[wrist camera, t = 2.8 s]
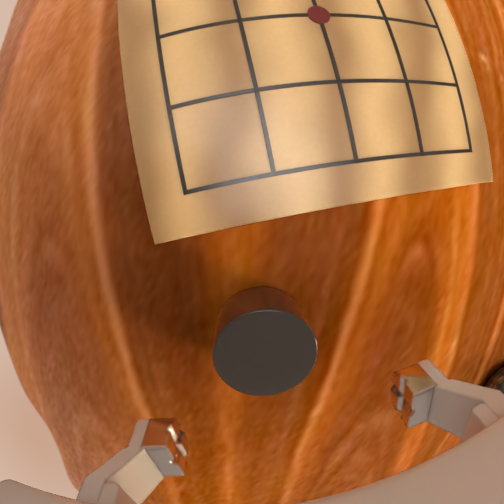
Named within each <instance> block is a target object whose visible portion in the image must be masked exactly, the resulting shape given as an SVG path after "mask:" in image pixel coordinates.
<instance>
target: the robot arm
mask: <svg viewBox="0 0 504 504" xmlns="http://www.w3.org/2000/svg"><path fill="white" fill-rule="evenodd" d="M392 381H393V383H394V385H393V387H392V388H391V400H392V403H393V406H394V407H395V409H396V410H397V411H400V412H402V413H401V419H402V420H403V422H404V423H405V425H406V426H407V428H410V427H413V426H415V425H418V424H420V423H423V422H425V421H427V422H429V423H431V424H433V425H435V426H437V427H439V428H441V429H443V430H445V431H448V432H450V433H452V434H454V435H456V436H458V437H460V438H461V441H460V443H459V444H458V445H456V446H454V447H452V448H451V449H449V450H447V451H445V452H443V453H441V454H439V455H437V456H435V457H433V458H431V459H429V460H427V461H425V462H423V463H420V464H418V465H416V466H414V467H411V468H409V469H407V470H404V471H402V472H400V473H397V474H395V475H392V476H390V477H387V478H384V479H382V480H379V481H376V482H373V483H370V484H367V485H364V486H361V487H358V488H355V489H352V490H348V491H345V492H342V493H338V494H334V495H330V496H327V497H323V498H318V499H314V500H309V501H305V502H300V503H295V504H504V394H503V393H502V392H501V391H500V390H496V389H491V388H487V387H483V386H479V385H475V384H471V383H467V382H463V381H459V380H455V379H450V380H448V379H447V377H446V376H445V375H444V374H443V373H442V372H441V371H440V370H439V369H438V368H437V367H436V366H435V365H434V364H433V363H432V362H431V361H430V360H429V359H425V360H422V361H420V362H418V363H416V364H413V365H410V366H408V367H405V368H403V369H400V370H397V371H395V372H393V374H392ZM188 449H189V448H188V440H187V437H186V435H185V433H184V432H183V431H181V430H180V423H179V421H178V420H177V419H176V418H158V419H139V420H138V421H137V423H136V425H135V428H134V431H133V434H132V437H131V439H130V442H129V445H128V448H123V449H122V450H121V451H120V452H118V453H117V454H116V455H114V456H113V457H112V458H111V459H109V460H108V461H107V462H105V463H104V464H103V465H101V466H100V467H99V468H97V469H96V470H95V471H93V472H92V473H91V474H89V475H88V476H87V477H85V479H84V481H83V484H82V486H81V489H80V491H79V494H78V496H77V499H76V500H75V499H71V498H66V497H63V496H59V495H56V494H52V493H48V492H45V491H42V490H39V489H36V488H32V487H30V486H27V485H24V484H22V483H19V482H16V481H13V480H4V481H1V482H0V504H142V502H143V501H144V500H145V499H146V498H147V497H148V496H149V494H150V493H151V492H152V491H153V490H154V489H155V487H156V486H157V485H158V484H159V483H160V482H161V480H162V479H163V478H164V476H185V471H186V464H187V462H186V461H185V459H184V457H185V456H186V455H187V454H188Z"/></svg>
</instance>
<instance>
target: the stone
mask: <svg viewBox="0 0 504 504" xmlns="http://www.w3.org/2000/svg"><path fill="white" fill-rule="evenodd" d="M485 387H487V388H491V389H496V390H500V391H501V392H502V393H503V394H504V368H500V369H499V370H498V371H497V372H496V373H495V374H494V375H493V376H492V377H491V378H490V380H489V381H488V382H487V384H486V385H485Z"/></svg>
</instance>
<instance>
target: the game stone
mask: <svg viewBox="0 0 504 504" xmlns="http://www.w3.org/2000/svg"><path fill="white" fill-rule="evenodd" d="M317 352H318V344H317V339H316V336H315V334H314V332H313V330H312V328H311V326H310V324H309V322H308V320H307V318H306V316H305V314H304V312H303V311H302V309H301V307H300V305H299V304H298V303H297V301H296V300H295V299H294V298H293V297H292V296H290V295H289V294H287V293H286V292H284V291H282V290H279V289H276V288H272V287H254V288H249V289H246V290H243V291H241V292H239V293H237V294H235V295H234V296H232V297H231V298H230V299H229V300H228V301H227V302H226V303H225V304H224V305H223V306H222V308H221V310H220V311H219V313H218V316H217V319H216V325H215V335H214V345H213V362H214V366H215V369H216V371H217V373H218V374H219V376H220V377H221V378H222V380H223V381H224V382H225V383H226V384H228V385H229V386H230V387H232V388H233V389H235V390H237V391H239V392H242V393H245V394H249V395H255V396H269V395H275V394H279V393H282V392H285V391H287V390H289V389H291V388H293V387H295V386H296V385H298V384H299V383H300V382H302V381H303V380H304V379H305V378H306V377H307V375H308V374H309V373H310V371H311V370H312V368H313V366H314V364H315V362H316V358H317Z"/></svg>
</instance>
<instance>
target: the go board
mask: <svg viewBox="0 0 504 504" xmlns="http://www.w3.org/2000/svg"><path fill="white" fill-rule="evenodd" d="M117 16H118V32H119V45H120V56H121V66H122V75H123V84H124V91H125V99H126V106H127V113H128V119H129V126H130V132H131V138H132V143H133V149H134V154H135V160H136V165H137V170H138V175H139V180H140V185H141V189H142V194H143V199H144V203H145V207H146V212H147V216H148V220H149V224H150V228H151V232H152V236H153V240H154V244H160V243H164V242H169V241H173V240H177V239H182V238H186V237H191V236H196V235H200V234H205V233H209V232H214V231H219V230H223V229H228V228H233V227H238V226H242V225H247V224H252V223H257V222H262V221H267V220H272V219H277V218H282V217H287V216H292V215H297V214H302V213H308V212H313V211H318V210H323V209H329V208H334V207H339V206H345V205H350V204H356V203H361V202H367V201H373V200H378V199H384V198H390V197H396V196H402V195H408V194H414V193H420V192H426V191H432V190H439V189H445V188H452V187H458V186H465V185H472V184H479V183H486V182H492V181H493V175H492V165H491V157H490V150H489V143H488V137H487V132H486V126H485V121H484V116H483V111H482V107H481V103H480V99H479V95H478V91H477V87H476V83H475V80H474V76H473V73H472V70H471V66H470V63H469V60H468V57H467V54H466V51H465V48H464V46H463V43H462V40H461V38H460V35H459V32H458V30H457V27H456V25H455V23H454V20H453V18H452V16H451V13H450V11H449V9H448V7H447V5H446V2H445V0H117Z"/></svg>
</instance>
